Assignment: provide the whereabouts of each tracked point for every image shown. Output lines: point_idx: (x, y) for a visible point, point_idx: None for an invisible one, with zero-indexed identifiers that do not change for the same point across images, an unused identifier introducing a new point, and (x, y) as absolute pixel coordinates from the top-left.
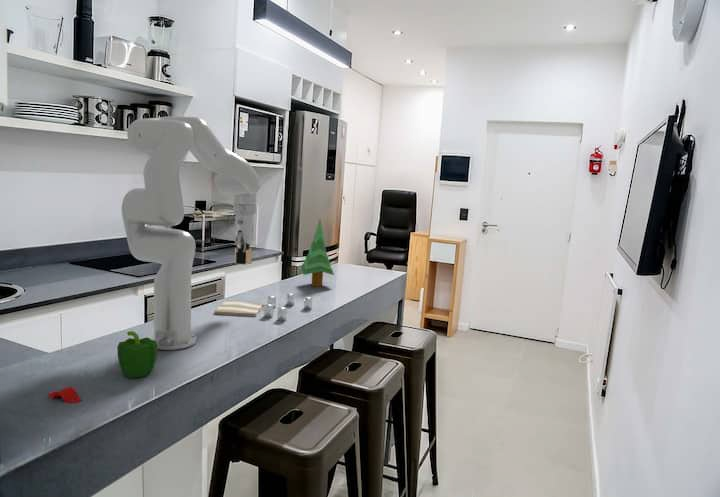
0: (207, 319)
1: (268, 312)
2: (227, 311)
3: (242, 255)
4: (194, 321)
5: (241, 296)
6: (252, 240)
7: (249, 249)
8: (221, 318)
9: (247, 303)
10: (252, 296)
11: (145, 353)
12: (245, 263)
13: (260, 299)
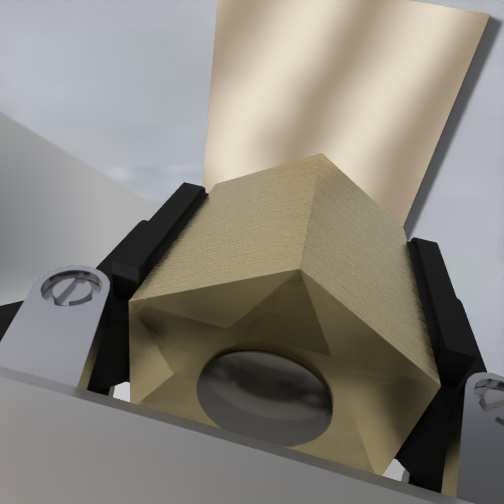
0: (479, 263)
1: None
2: (407, 188)
3: (477, 360)
4: (499, 307)
5: (49, 122)
6: (129, 455)
7: (329, 315)
8: (477, 207)
9: (237, 84)
10: (28, 59)
11: None
12: (416, 238)
13: (76, 3)
